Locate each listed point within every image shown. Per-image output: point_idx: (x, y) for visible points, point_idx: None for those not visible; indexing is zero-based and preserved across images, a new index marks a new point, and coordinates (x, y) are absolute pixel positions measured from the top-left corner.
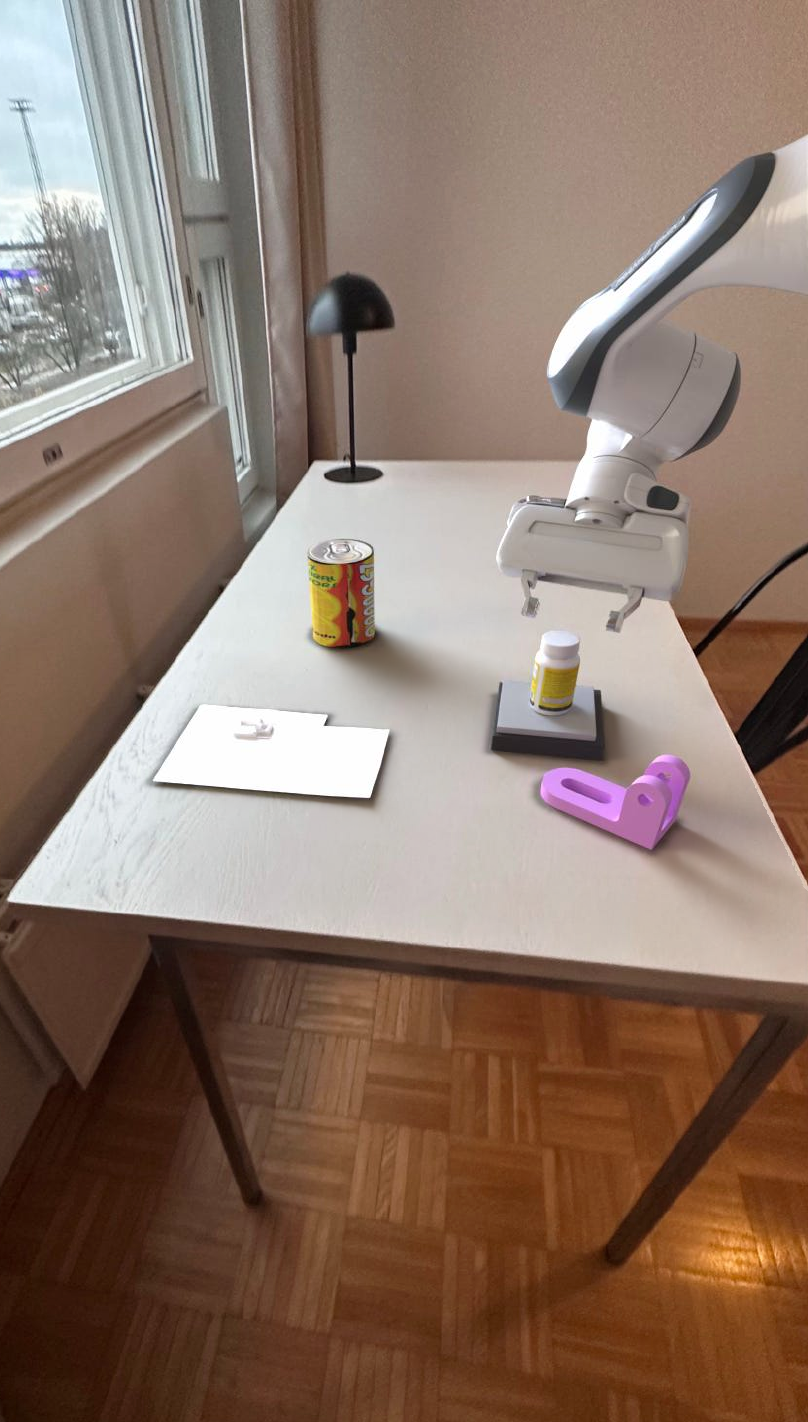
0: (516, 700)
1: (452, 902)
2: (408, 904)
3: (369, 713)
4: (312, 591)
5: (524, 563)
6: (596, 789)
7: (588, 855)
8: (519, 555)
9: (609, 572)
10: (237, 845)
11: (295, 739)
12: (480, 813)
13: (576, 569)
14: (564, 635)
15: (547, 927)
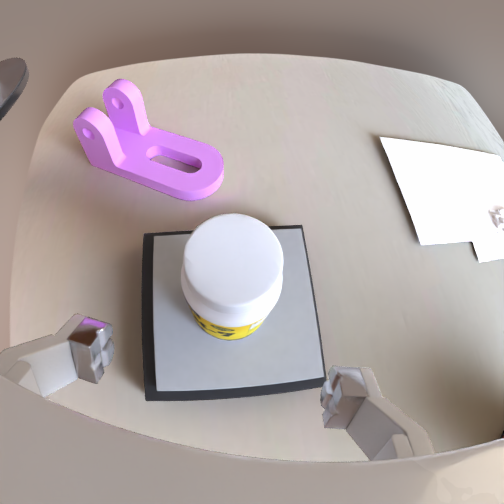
0: (288, 310)
1: (274, 69)
2: (301, 67)
3: (452, 282)
4: None
5: (455, 456)
6: (161, 164)
7: (176, 111)
8: (486, 469)
9: (62, 427)
10: (422, 104)
11: (475, 213)
12: (279, 136)
13: (226, 468)
14: (225, 273)
15: (209, 64)
